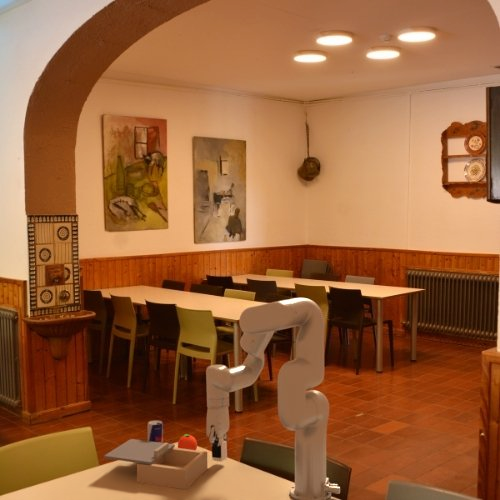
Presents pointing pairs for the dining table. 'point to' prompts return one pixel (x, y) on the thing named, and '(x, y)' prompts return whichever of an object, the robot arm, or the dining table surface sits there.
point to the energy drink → (155, 431)
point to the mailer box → (174, 468)
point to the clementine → (187, 442)
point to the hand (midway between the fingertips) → (219, 454)
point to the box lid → (140, 451)
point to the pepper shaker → (222, 450)
